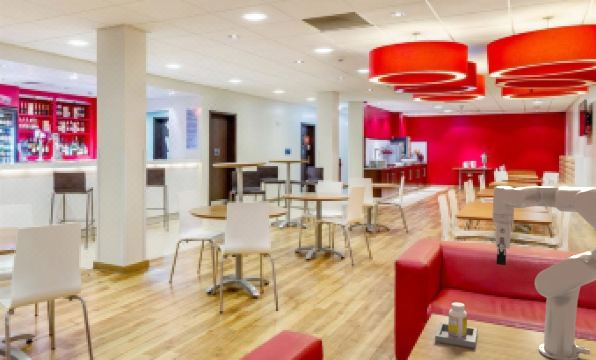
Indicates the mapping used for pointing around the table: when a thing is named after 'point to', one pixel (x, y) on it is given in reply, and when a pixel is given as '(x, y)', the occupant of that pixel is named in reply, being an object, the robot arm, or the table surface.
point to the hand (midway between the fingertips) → (501, 261)
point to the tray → (445, 339)
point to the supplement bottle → (457, 321)
